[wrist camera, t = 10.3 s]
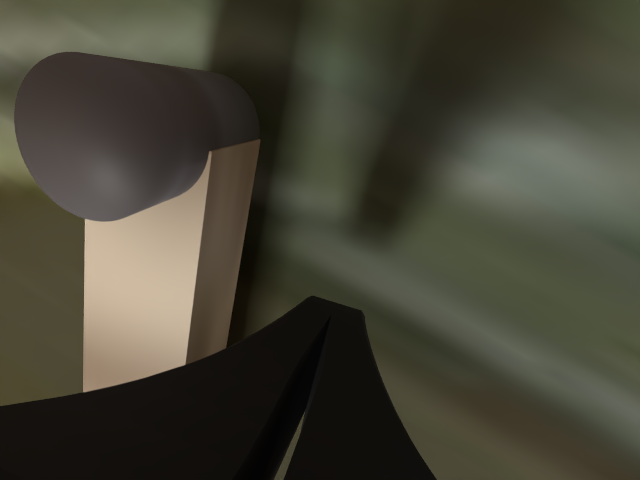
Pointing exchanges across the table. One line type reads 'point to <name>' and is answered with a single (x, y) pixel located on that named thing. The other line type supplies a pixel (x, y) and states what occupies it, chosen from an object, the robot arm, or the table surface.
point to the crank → (145, 201)
